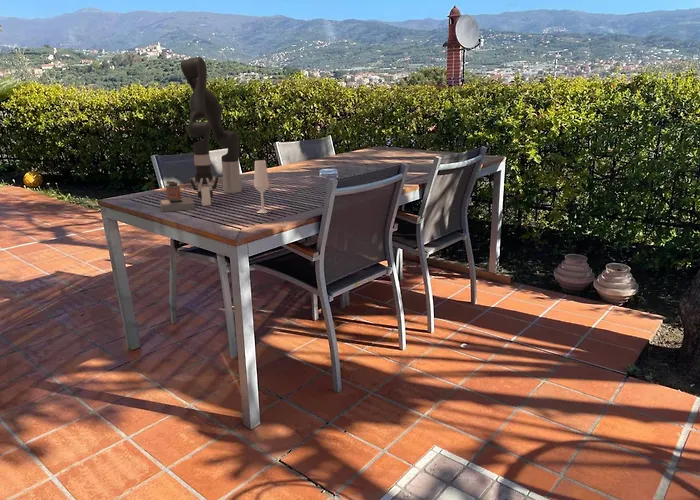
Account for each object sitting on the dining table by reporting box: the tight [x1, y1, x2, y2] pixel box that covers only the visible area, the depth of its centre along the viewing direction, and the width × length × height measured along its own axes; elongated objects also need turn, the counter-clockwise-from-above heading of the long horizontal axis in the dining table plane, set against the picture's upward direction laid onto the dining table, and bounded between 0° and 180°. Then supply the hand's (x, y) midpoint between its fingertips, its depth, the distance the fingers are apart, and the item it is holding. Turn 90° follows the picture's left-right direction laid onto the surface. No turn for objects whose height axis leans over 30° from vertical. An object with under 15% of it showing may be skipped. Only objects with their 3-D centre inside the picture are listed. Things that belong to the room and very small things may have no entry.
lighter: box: [165, 180, 182, 199], centre depth 262 cm, size 8×3×10 cm, turn 71°
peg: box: [200, 185, 212, 207], centre depth 252 cm, size 4×4×9 cm
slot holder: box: [159, 196, 196, 213], centre depth 247 cm, size 15×15×3 cm
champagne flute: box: [253, 159, 270, 213], centre depth 233 cm, size 7×7×24 cm
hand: (205, 197), depth 253 cm, fingers open, 4 cm apart
